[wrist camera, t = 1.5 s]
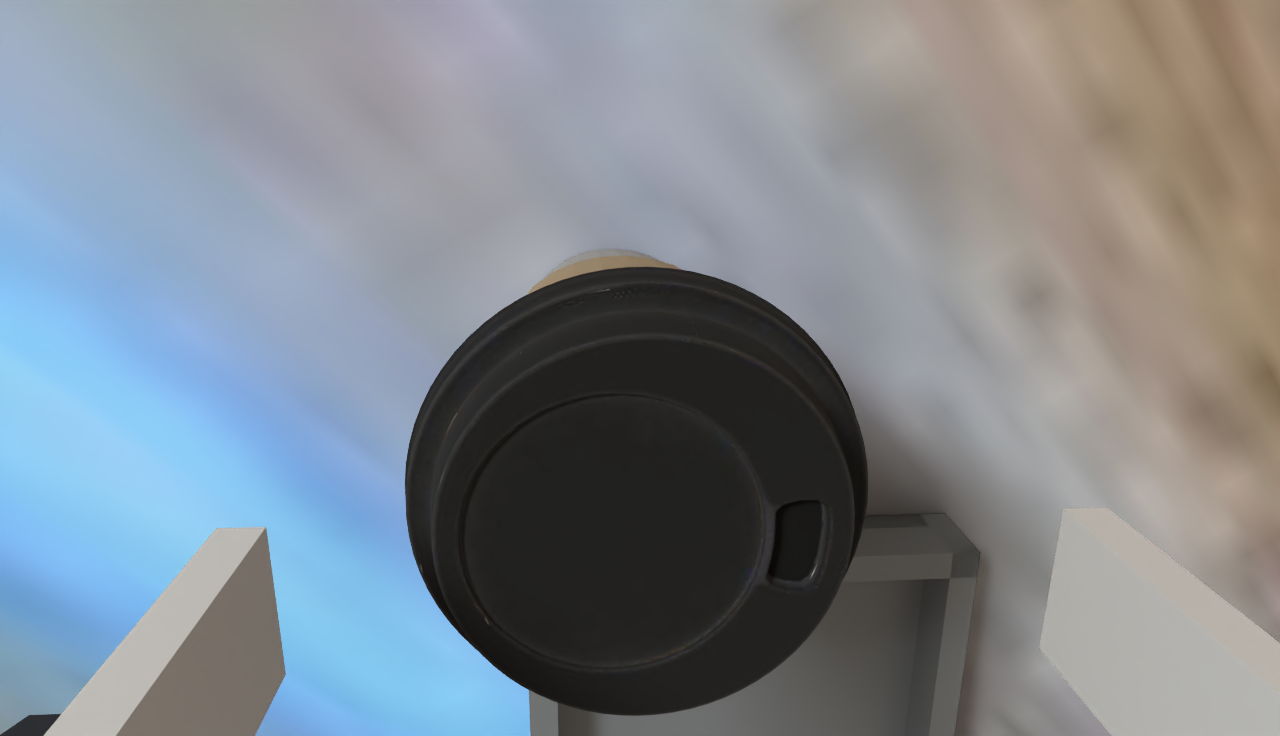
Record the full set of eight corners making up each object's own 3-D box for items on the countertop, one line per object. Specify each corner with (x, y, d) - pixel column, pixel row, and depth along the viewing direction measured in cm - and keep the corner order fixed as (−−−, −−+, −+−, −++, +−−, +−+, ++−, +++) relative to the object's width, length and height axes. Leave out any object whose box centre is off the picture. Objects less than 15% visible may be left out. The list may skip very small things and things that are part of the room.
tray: (538, 843, 37) (536, 906, 34) (528, 525, 32) (524, 567, 29) (905, 822, 38) (933, 881, 35) (945, 513, 34) (980, 552, 31)
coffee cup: (779, 394, 31) (955, 643, 17) (541, 492, 32) (521, 815, 18) (684, 147, 29) (802, 200, 14) (424, 259, 29) (286, 420, 15)
